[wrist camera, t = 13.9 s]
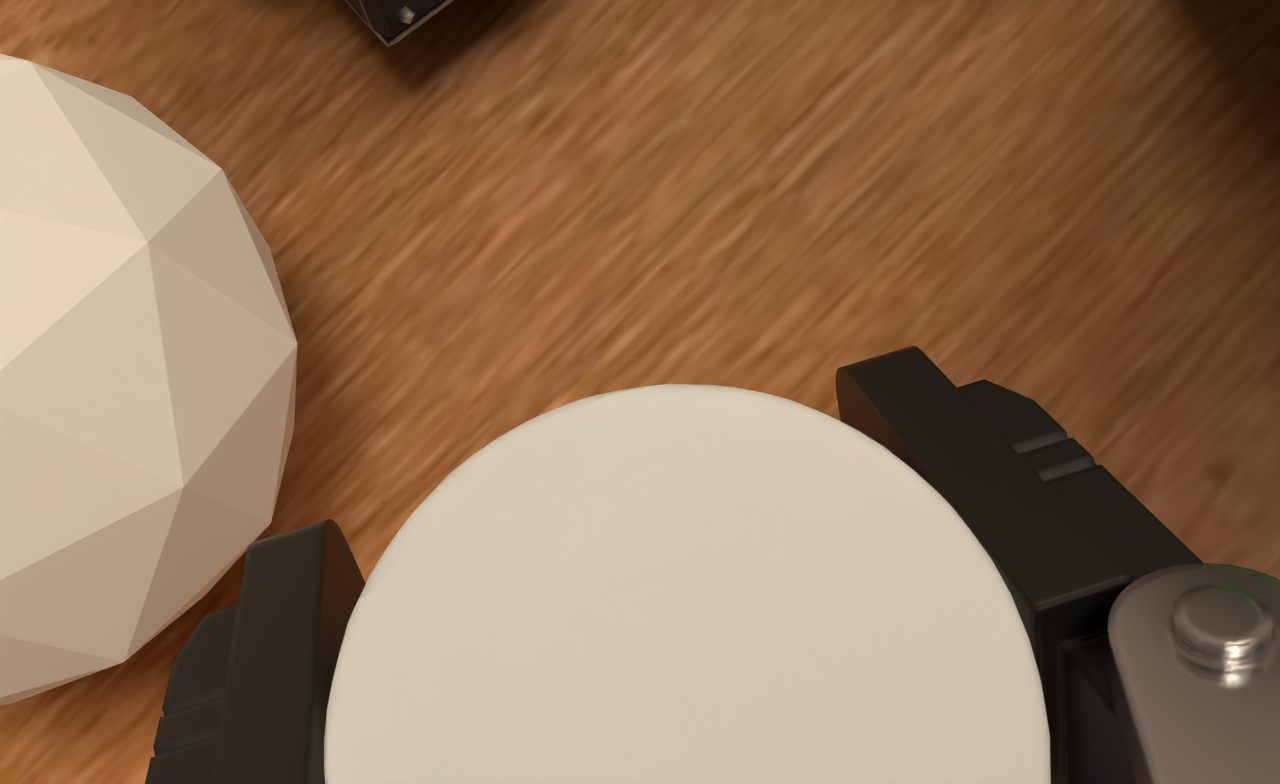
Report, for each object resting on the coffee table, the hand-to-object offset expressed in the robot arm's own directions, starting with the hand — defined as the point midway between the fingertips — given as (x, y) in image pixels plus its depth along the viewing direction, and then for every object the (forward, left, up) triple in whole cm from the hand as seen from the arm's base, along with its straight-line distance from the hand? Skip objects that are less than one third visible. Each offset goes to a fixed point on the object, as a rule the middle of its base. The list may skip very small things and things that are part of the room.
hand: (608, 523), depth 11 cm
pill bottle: (0, +2, -4) cm, 5 cm away
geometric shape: (+13, -9, -20) cm, 26 cm away
